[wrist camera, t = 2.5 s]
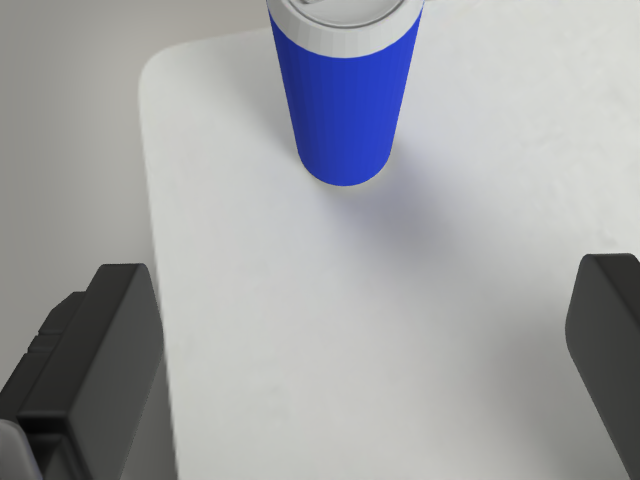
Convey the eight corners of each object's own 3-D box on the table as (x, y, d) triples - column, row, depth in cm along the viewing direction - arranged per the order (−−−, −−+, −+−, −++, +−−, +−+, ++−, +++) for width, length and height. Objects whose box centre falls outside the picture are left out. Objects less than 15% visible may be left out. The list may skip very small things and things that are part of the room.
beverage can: (364, 86, 33) (381, -134, 18) (407, 163, 32) (462, -5, 17) (282, 126, 33) (233, -67, 18) (323, 205, 32) (306, 69, 17)
